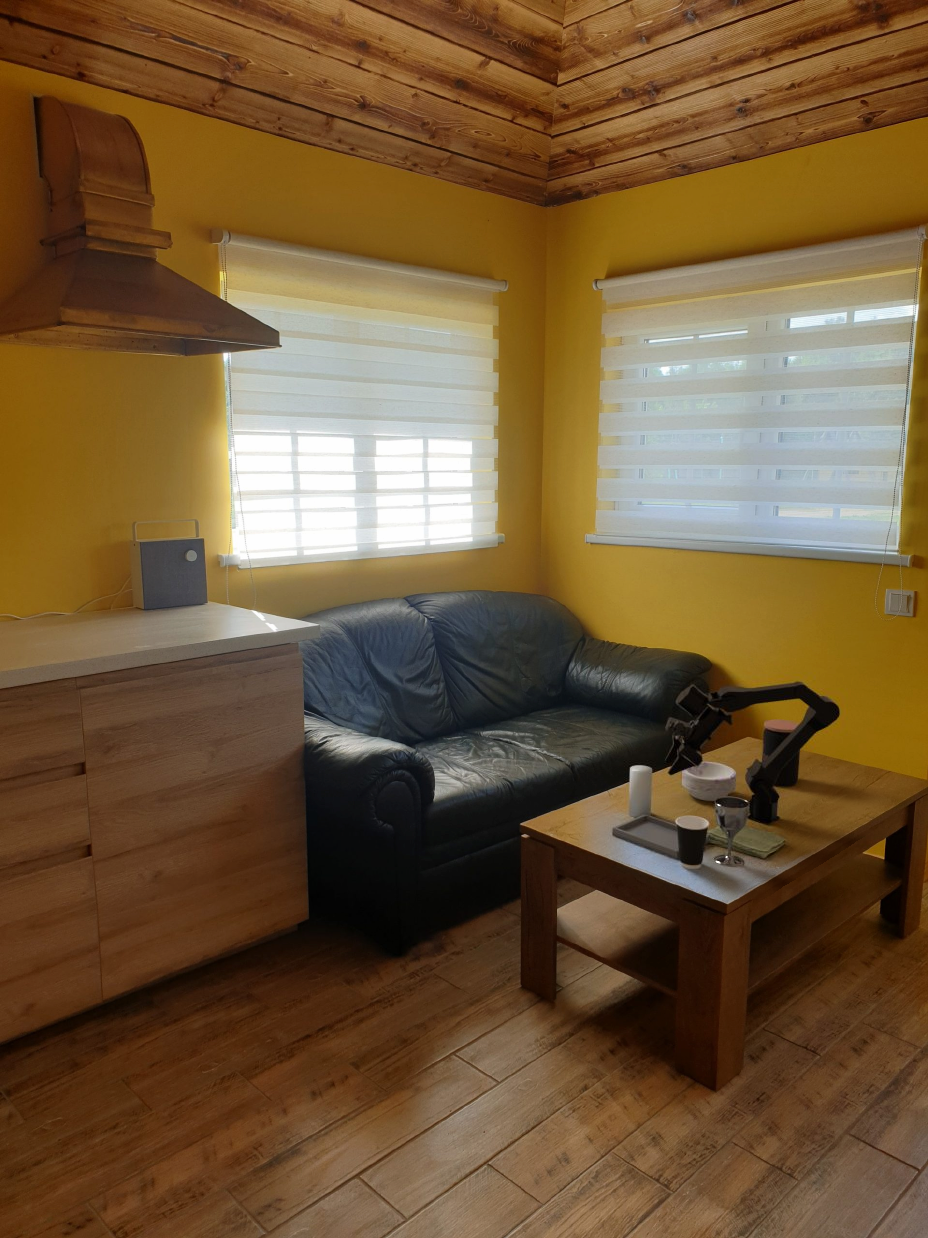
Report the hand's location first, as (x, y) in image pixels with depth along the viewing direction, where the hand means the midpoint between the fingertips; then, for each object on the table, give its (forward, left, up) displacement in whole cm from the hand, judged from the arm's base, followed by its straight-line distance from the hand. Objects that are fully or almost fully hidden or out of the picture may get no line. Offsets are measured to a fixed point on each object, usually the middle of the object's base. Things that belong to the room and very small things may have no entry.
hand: (667, 768), depth 252 cm
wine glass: (-28, +13, -14) cm, 33 cm away
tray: (-9, +15, -13) cm, 22 cm away
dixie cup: (-23, +22, -14) cm, 34 cm away
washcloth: (-25, +1, -14) cm, 28 cm away
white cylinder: (+5, +5, -13) cm, 15 cm away
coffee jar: (-8, -47, -14) cm, 50 cm away
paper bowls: (0, -21, -14) cm, 25 cm away
